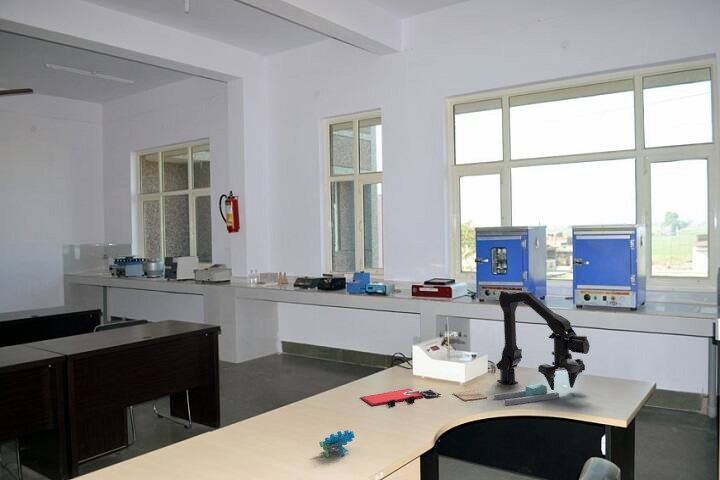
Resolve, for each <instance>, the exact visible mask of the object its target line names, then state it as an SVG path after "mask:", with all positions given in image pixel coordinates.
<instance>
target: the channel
mask: <svg viewBox="0 0 720 480" xmlns="http://www.w3.org/2000/svg"><path fill="white" fill-rule="evenodd" d="M559 397H560V393H559V392H556V391H555V392H548V391H547V394H542V395H535V396H528V397H526V389H523V390H517V391H509V392H504V393H503V392H502V393H494V394H493V399H494V400H495V401H497V400H499V401H500V400H504V405H505V406H512V405H518V404H525V403H532V402H538V401H539V402H541V401H545V400H546V401H547V400H554V399H560V398H559Z"/></svg>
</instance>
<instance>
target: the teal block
mask: <svg viewBox="0 0 720 480" xmlns="http://www.w3.org/2000/svg"><path fill="white" fill-rule="evenodd" d="M525 390H526V396H525V397H528V396H535V395H542V394H547V392H548V388H547V385H544V384H542V383H536V384H531V385H525Z"/></svg>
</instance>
